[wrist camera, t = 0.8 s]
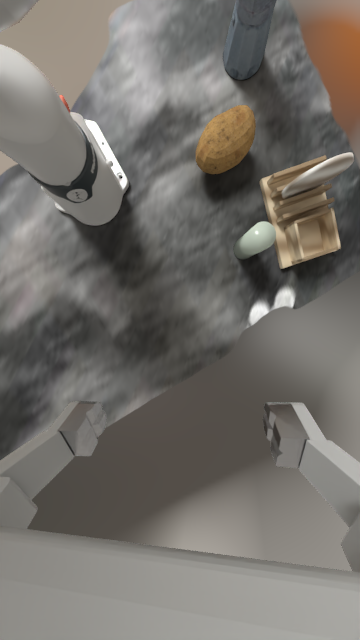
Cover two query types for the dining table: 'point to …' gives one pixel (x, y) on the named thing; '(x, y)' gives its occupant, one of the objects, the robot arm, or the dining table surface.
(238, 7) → the moka pot
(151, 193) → the dining table surface
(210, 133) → the potato
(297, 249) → the rack
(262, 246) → the pale green glossy part
